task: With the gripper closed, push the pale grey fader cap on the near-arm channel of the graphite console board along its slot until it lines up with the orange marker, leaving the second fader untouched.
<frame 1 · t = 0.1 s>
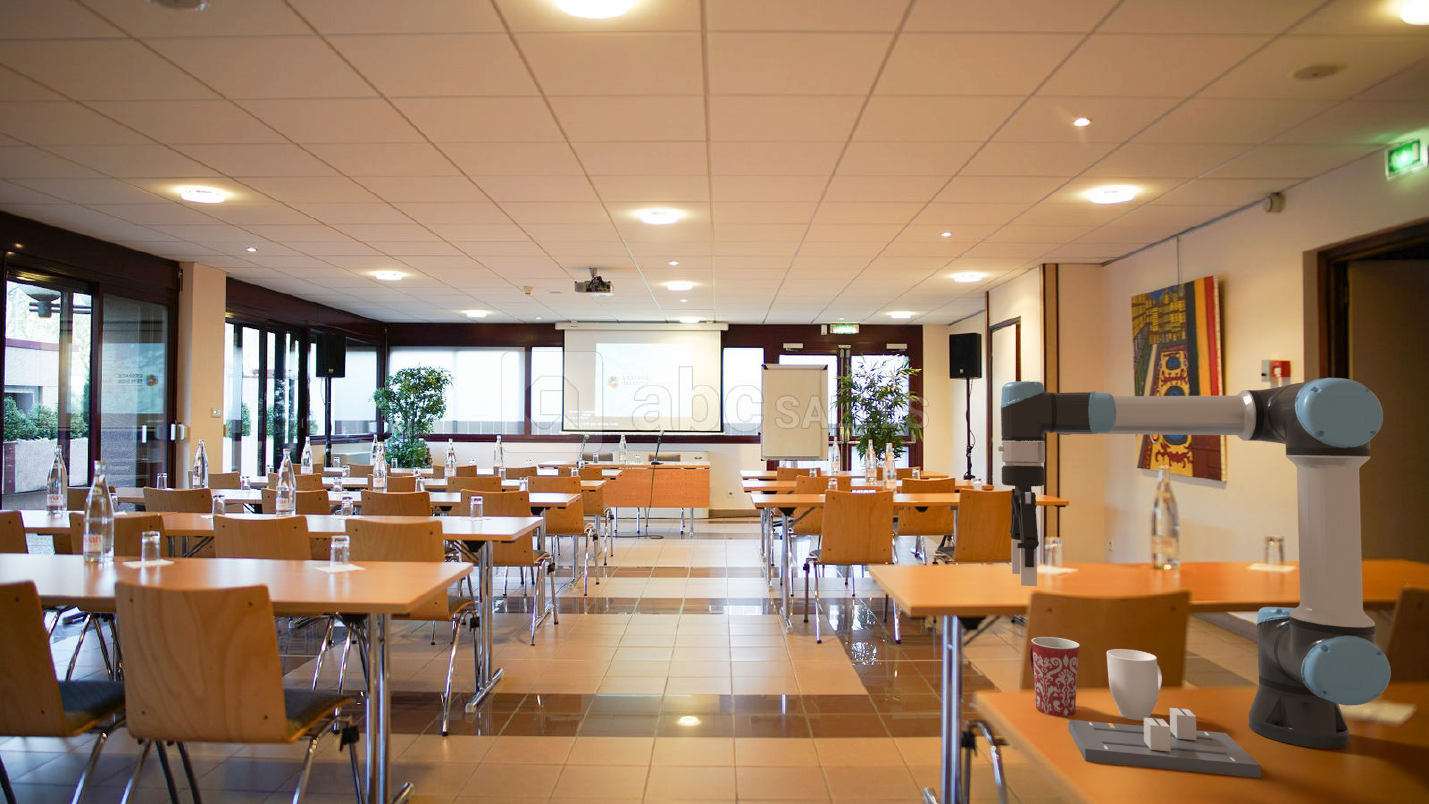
hand: (1023, 579, 150), 28 cm above the table, fingers open, 13 cm apart
fader a: (1182, 723, 143), point 4 cm above the table, slide at 3.0 cm
fader b: (1156, 733, 137), point 4 cm above the table, slide at 9.0 cm
mug: (1051, 708, 164), on the table
mug 2: (1137, 715, 160), on the table
console: (1157, 752, 140), on the table
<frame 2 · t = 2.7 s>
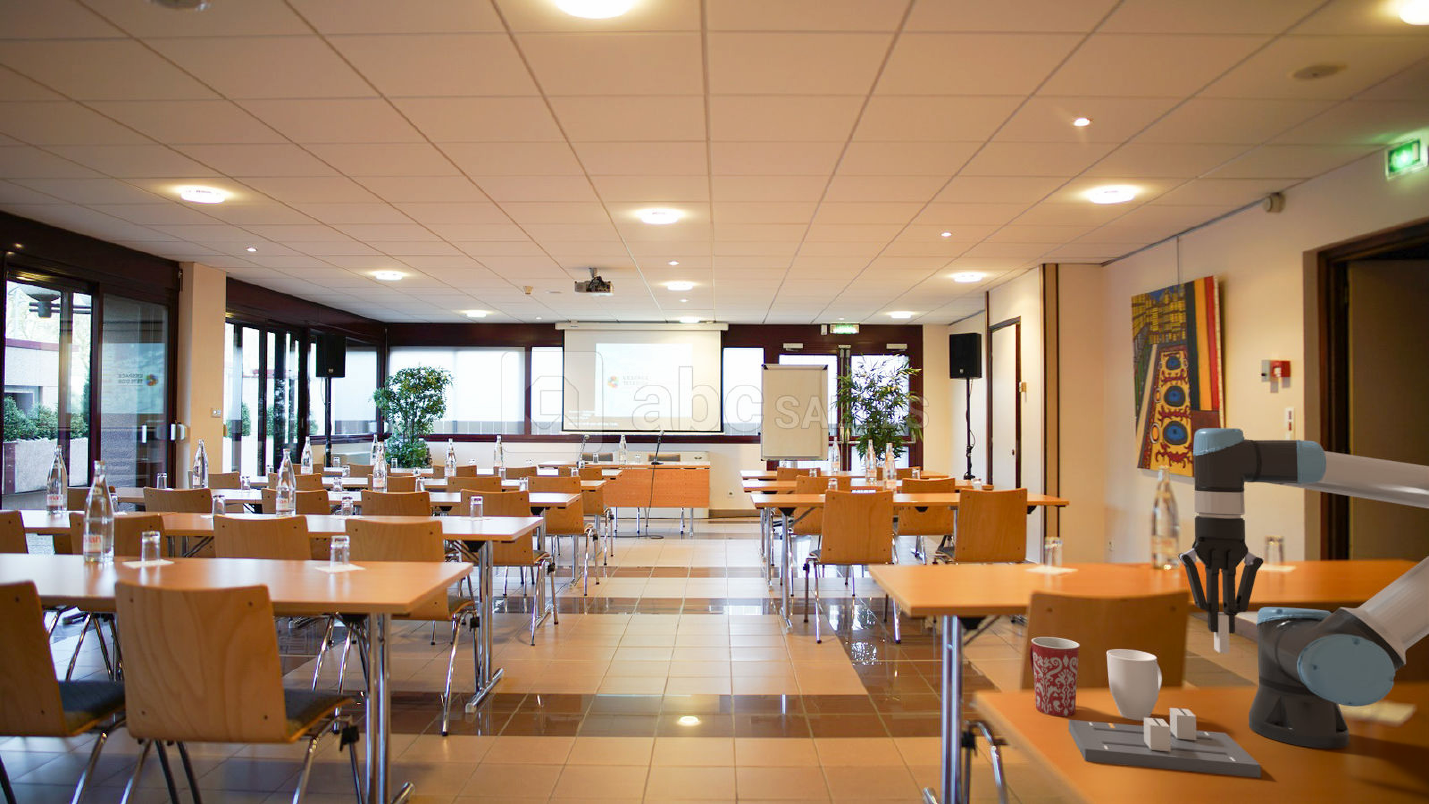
hand: (1221, 651, 142), 17 cm above the table, fingers closed
nothing on the table moved.
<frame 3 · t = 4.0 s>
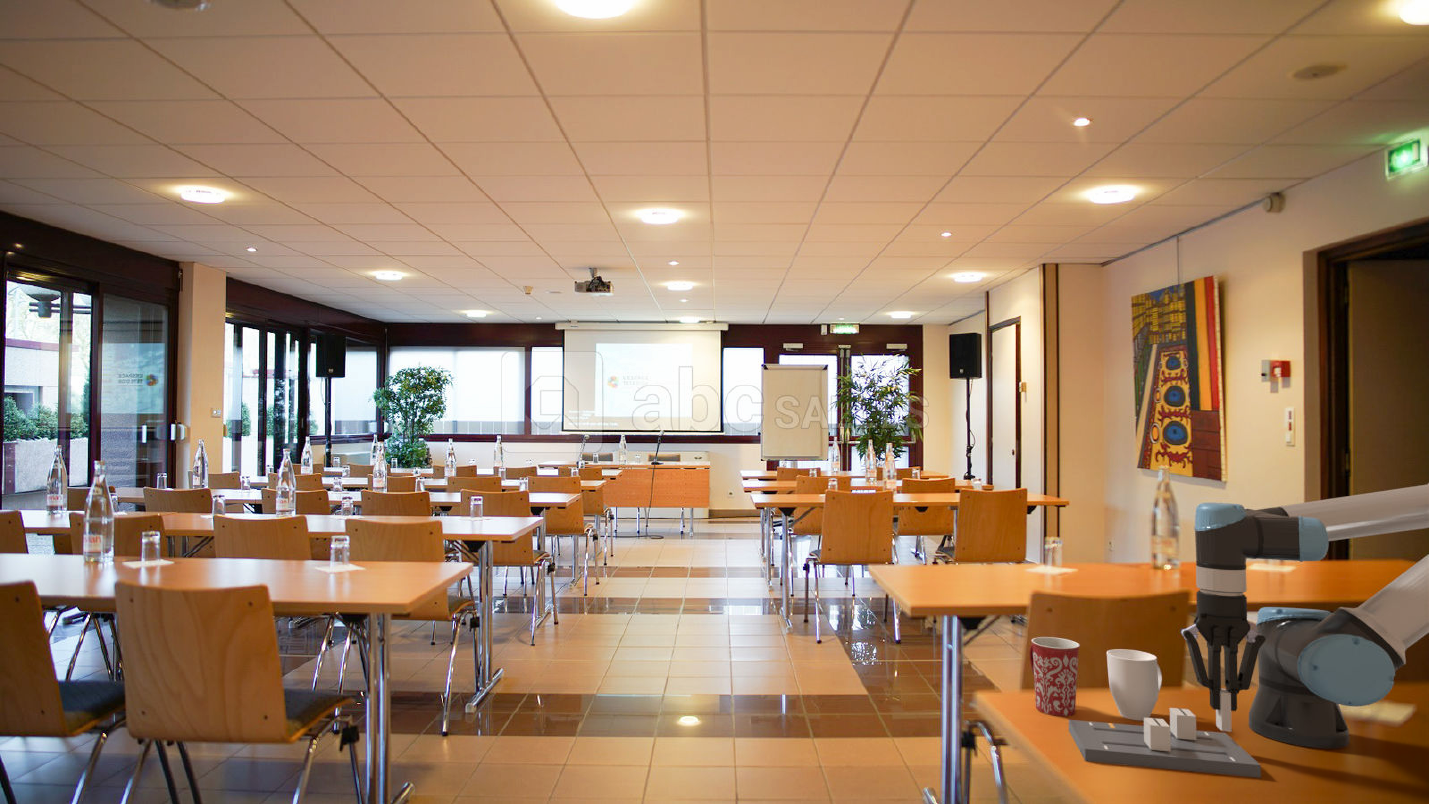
hand: (1223, 728, 141), 4 cm above the table, fingers closed
nothing on the table moved.
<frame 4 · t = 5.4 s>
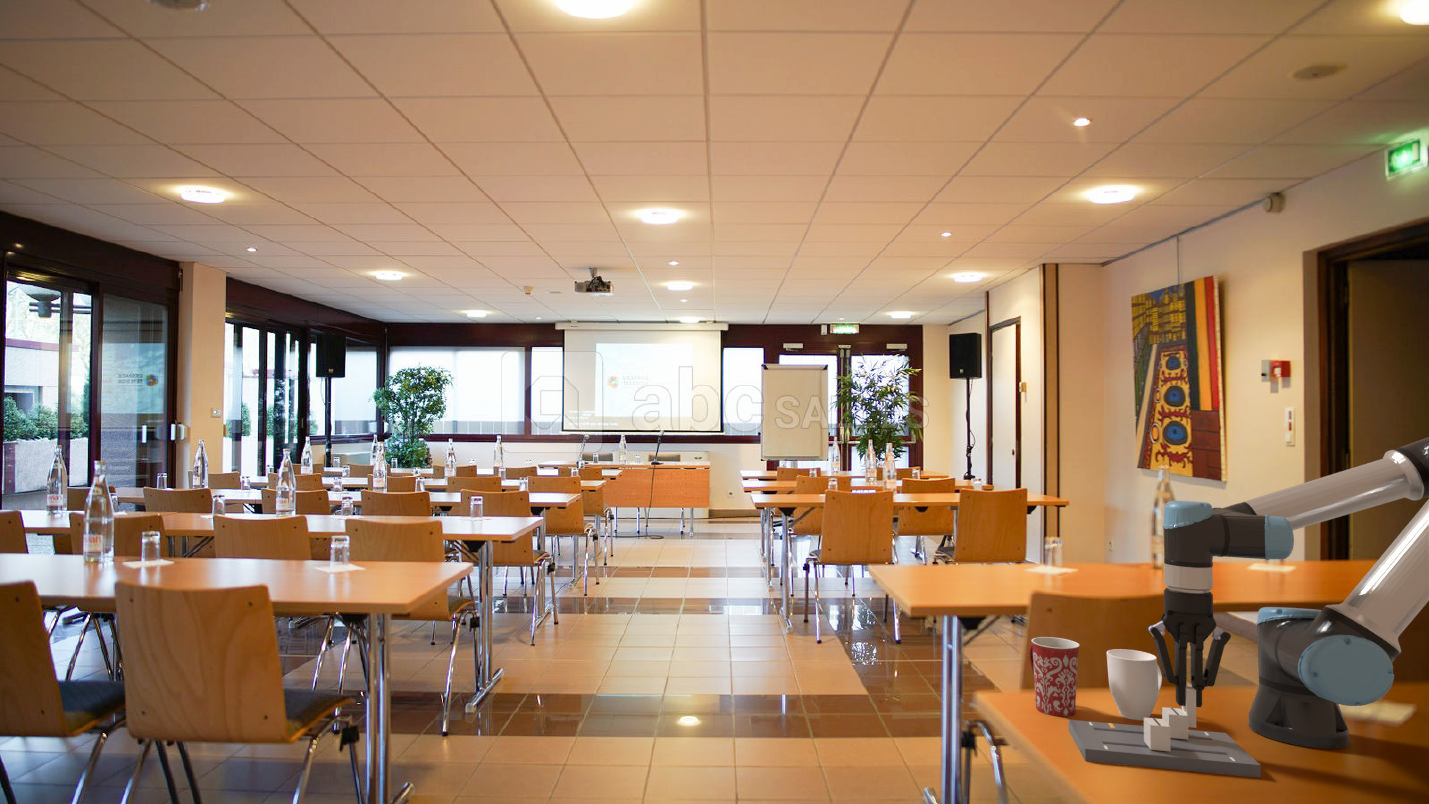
hand: (1189, 724, 142), 4 cm above the table, fingers closed
fader a: (1175, 722, 143), point 4 cm above the table, slide at 4.3 cm, touching gripper
everything else where it was.
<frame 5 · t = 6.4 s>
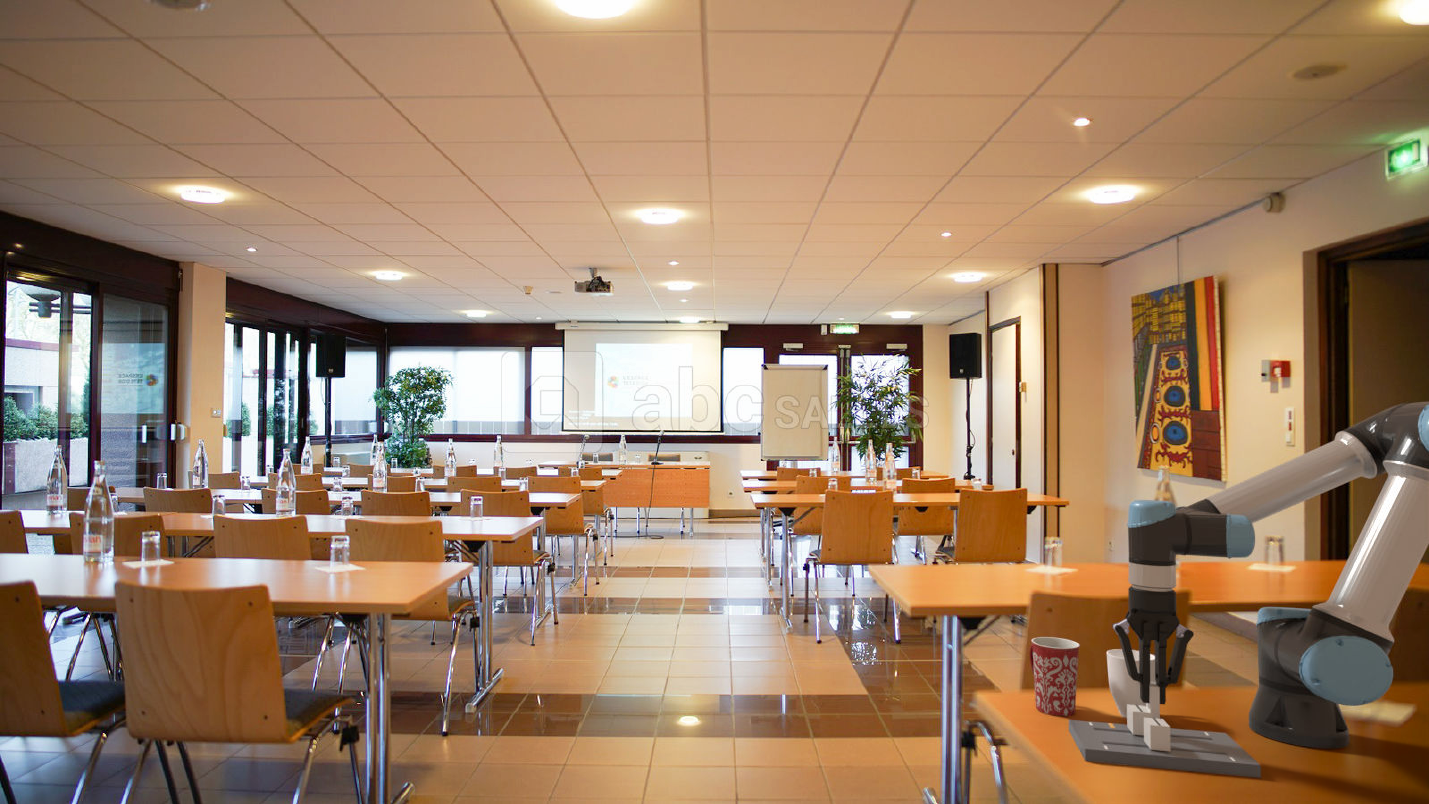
hand: (1152, 721, 144), 4 cm above the table, fingers closed
fader a: (1139, 719, 144), point 4 cm above the table, slide at 10.0 cm, touching gripper
everything else where it was.
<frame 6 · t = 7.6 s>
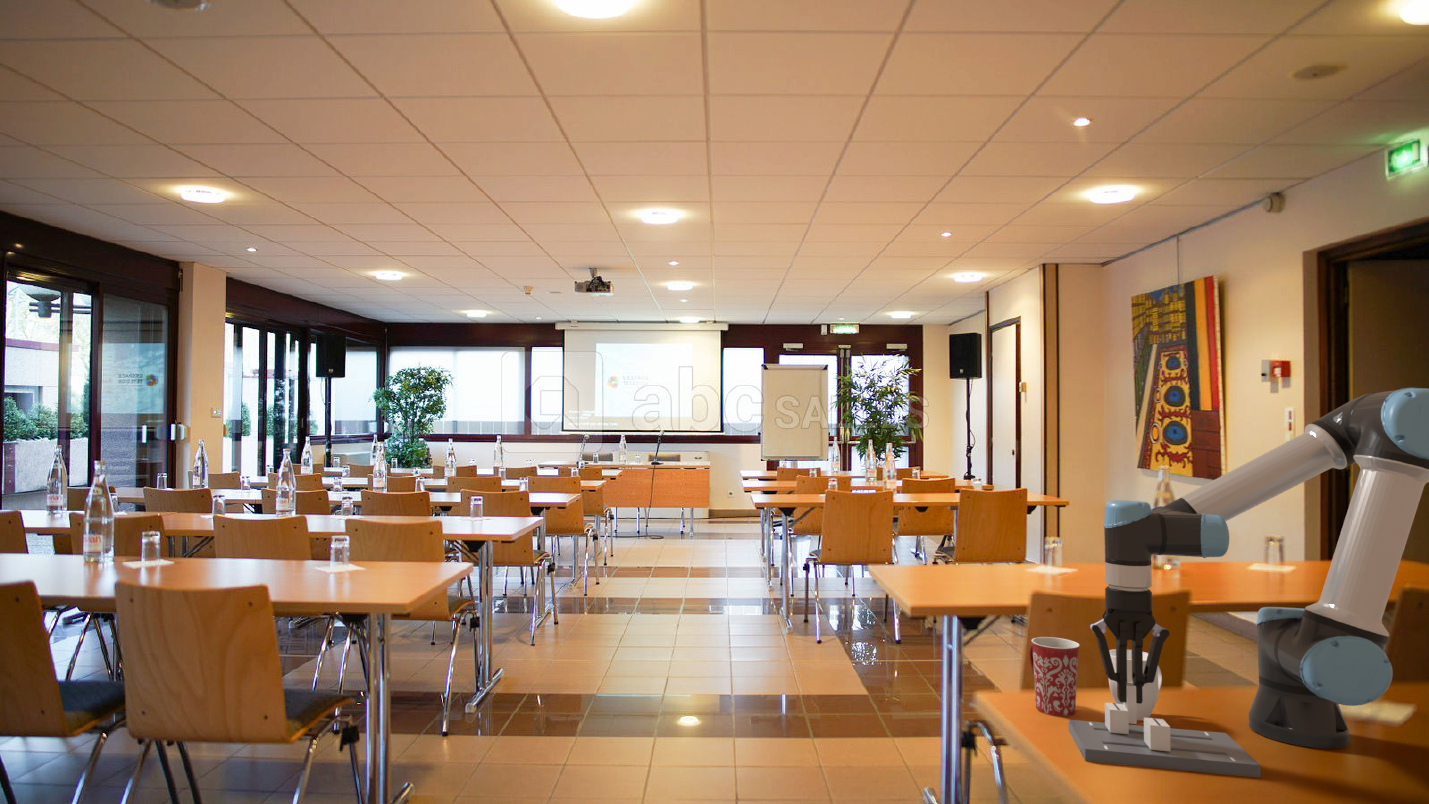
hand: (1130, 720, 145), 4 cm above the table, fingers closed
fader a: (1116, 717, 145), point 4 cm above the table, slide at 13.7 cm, touching gripper
everything else where it was.
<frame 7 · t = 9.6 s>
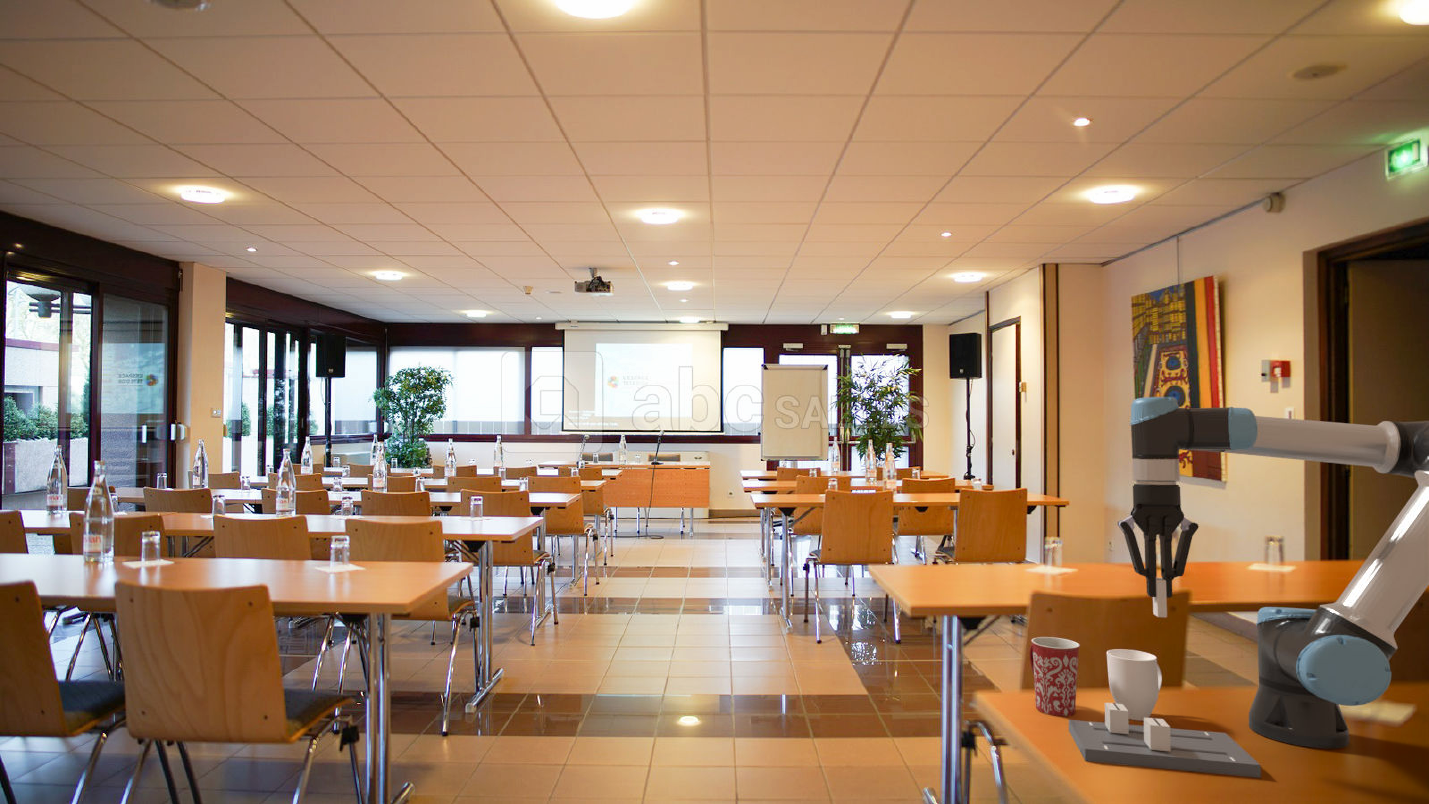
hand: (1160, 615, 145), 23 cm above the table, fingers closed
fader a: (1116, 717, 145), point 4 cm above the table, slide at 13.7 cm
everything else where it was.
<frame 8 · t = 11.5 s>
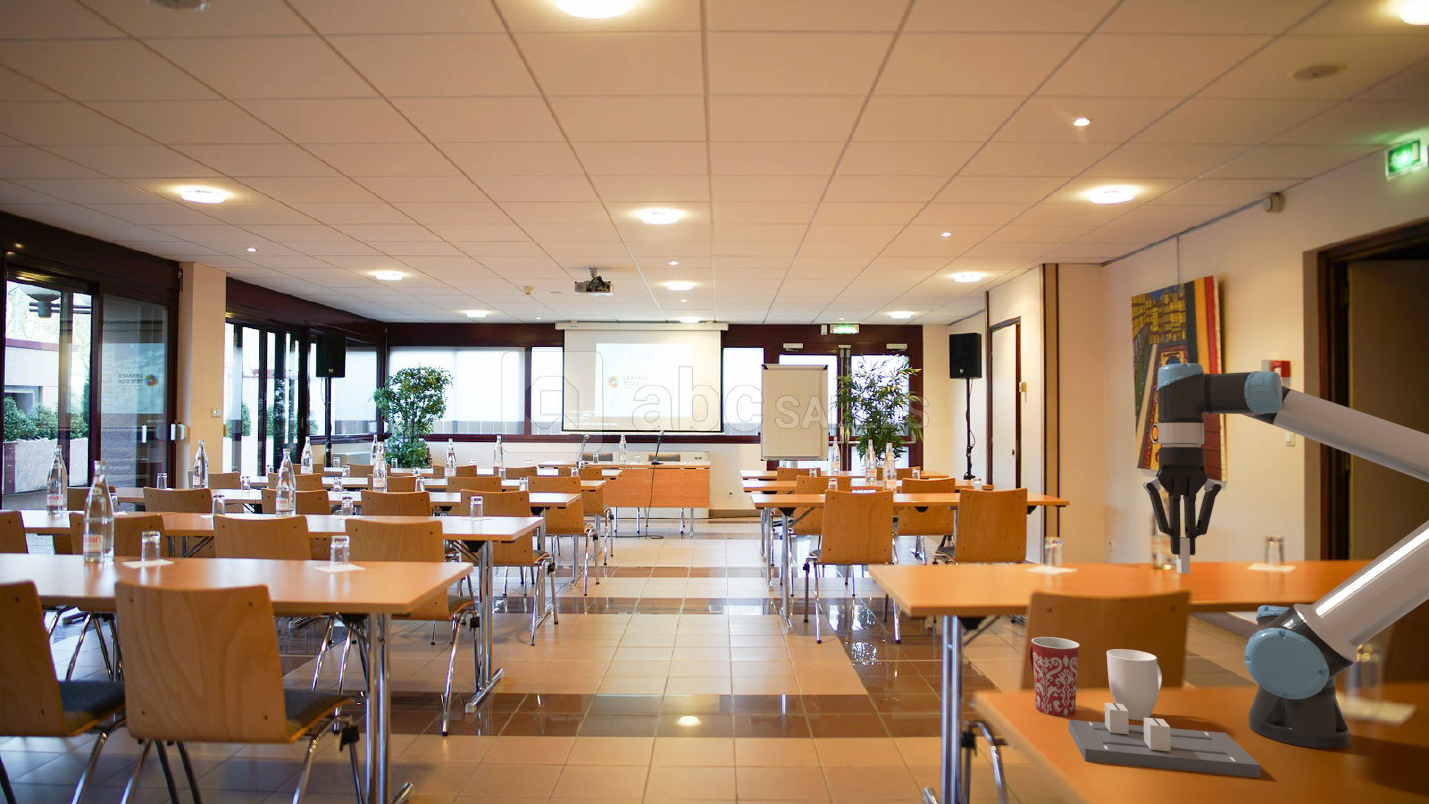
hand: (1183, 572, 152), 29 cm above the table, fingers closed
nothing on the table moved.
at the end: fader a slide at 13.7 cm; fader b slide at 9.0 cm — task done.
